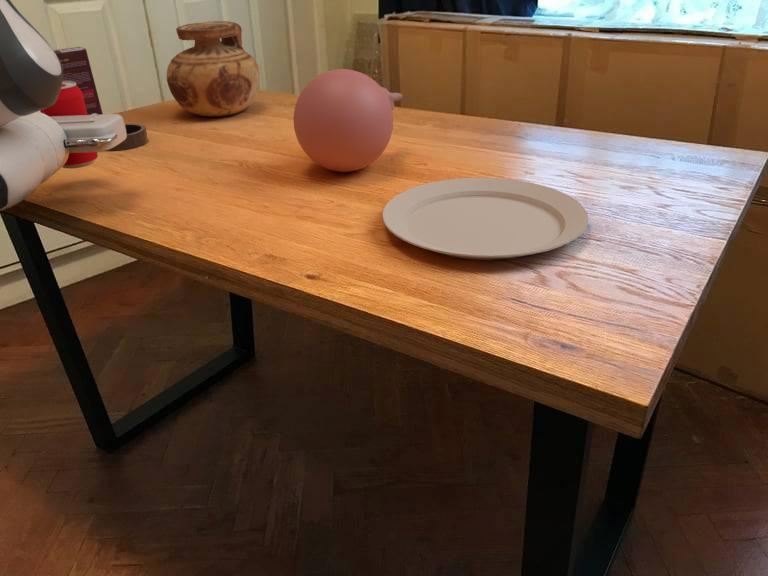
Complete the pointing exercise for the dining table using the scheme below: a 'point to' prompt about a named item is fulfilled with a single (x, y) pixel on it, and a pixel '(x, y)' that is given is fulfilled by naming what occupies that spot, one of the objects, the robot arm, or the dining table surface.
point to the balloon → (344, 120)
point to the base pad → (132, 137)
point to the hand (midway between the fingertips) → (68, 119)
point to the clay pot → (213, 70)
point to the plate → (485, 218)
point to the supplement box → (80, 75)
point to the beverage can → (71, 105)
